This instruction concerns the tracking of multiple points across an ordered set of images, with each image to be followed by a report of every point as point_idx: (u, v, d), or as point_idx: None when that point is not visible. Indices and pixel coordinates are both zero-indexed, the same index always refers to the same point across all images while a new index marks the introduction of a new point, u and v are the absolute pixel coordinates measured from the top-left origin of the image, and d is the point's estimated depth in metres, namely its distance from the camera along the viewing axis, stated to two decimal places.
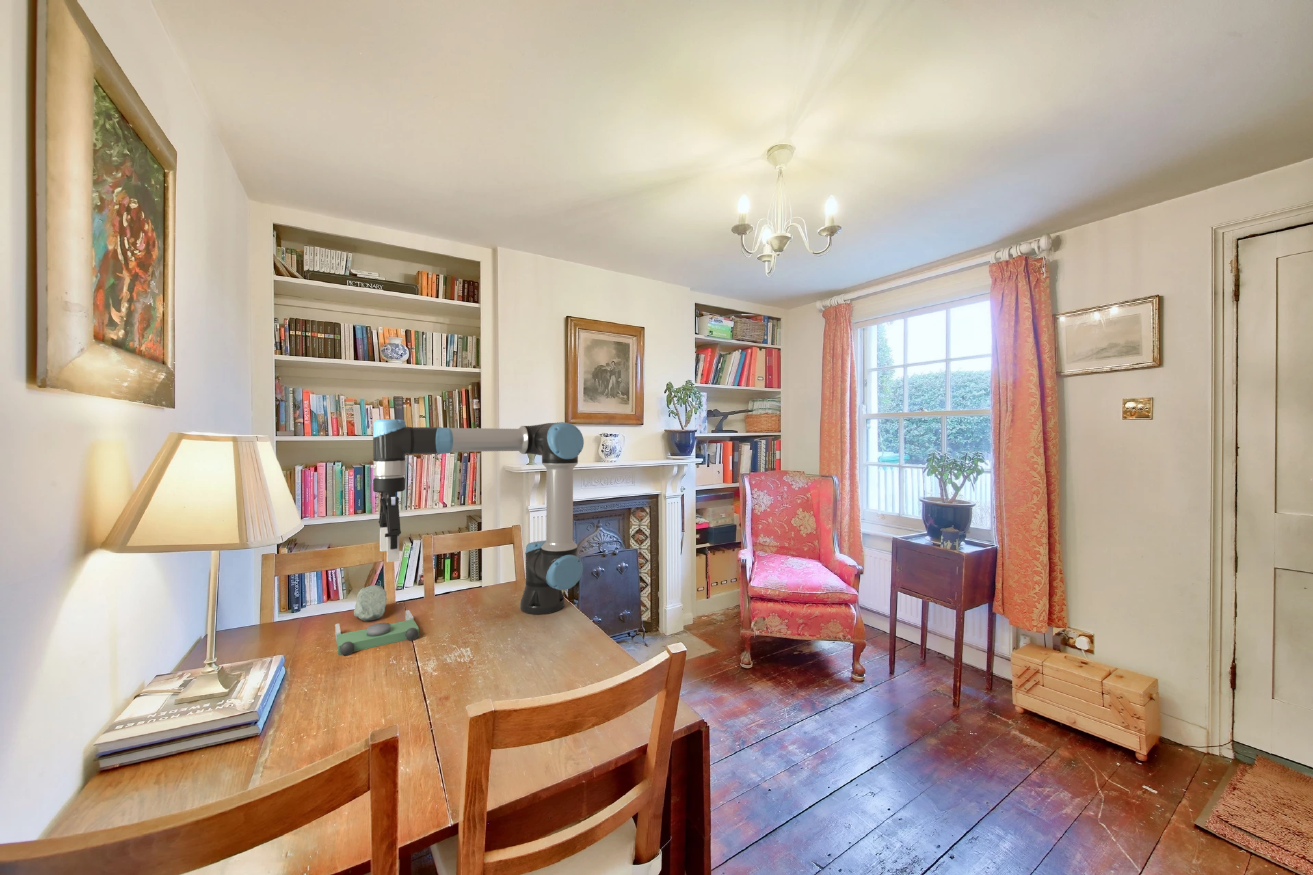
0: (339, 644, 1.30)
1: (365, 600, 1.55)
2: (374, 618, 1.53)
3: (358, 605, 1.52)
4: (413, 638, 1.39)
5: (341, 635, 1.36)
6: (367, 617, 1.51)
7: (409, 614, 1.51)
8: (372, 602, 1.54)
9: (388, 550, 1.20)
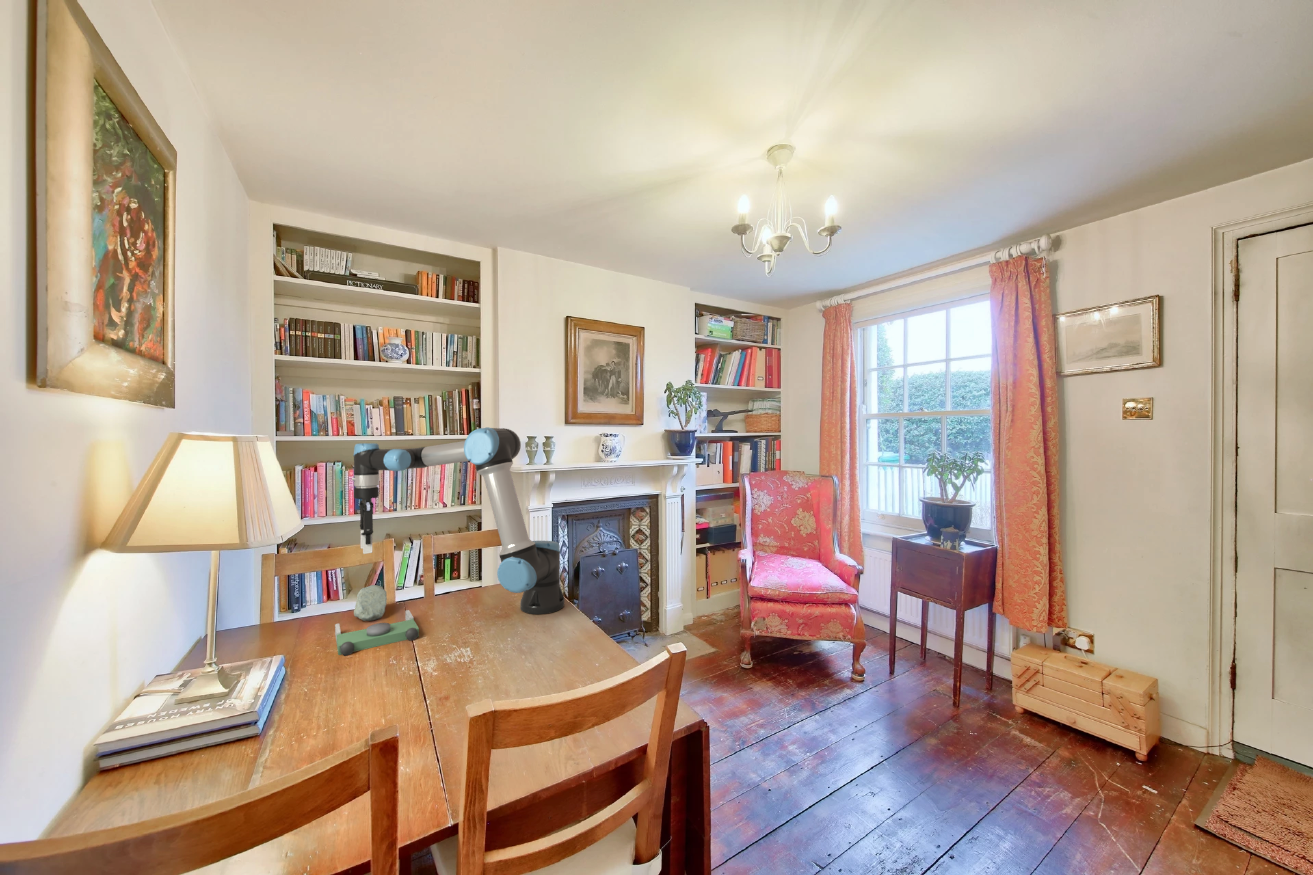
0: (339, 644, 1.30)
1: (365, 600, 1.55)
2: (374, 618, 1.53)
3: (358, 605, 1.52)
4: (413, 638, 1.39)
5: (341, 635, 1.36)
6: (367, 617, 1.51)
7: (409, 614, 1.51)
8: (372, 602, 1.54)
9: (364, 545, 1.63)
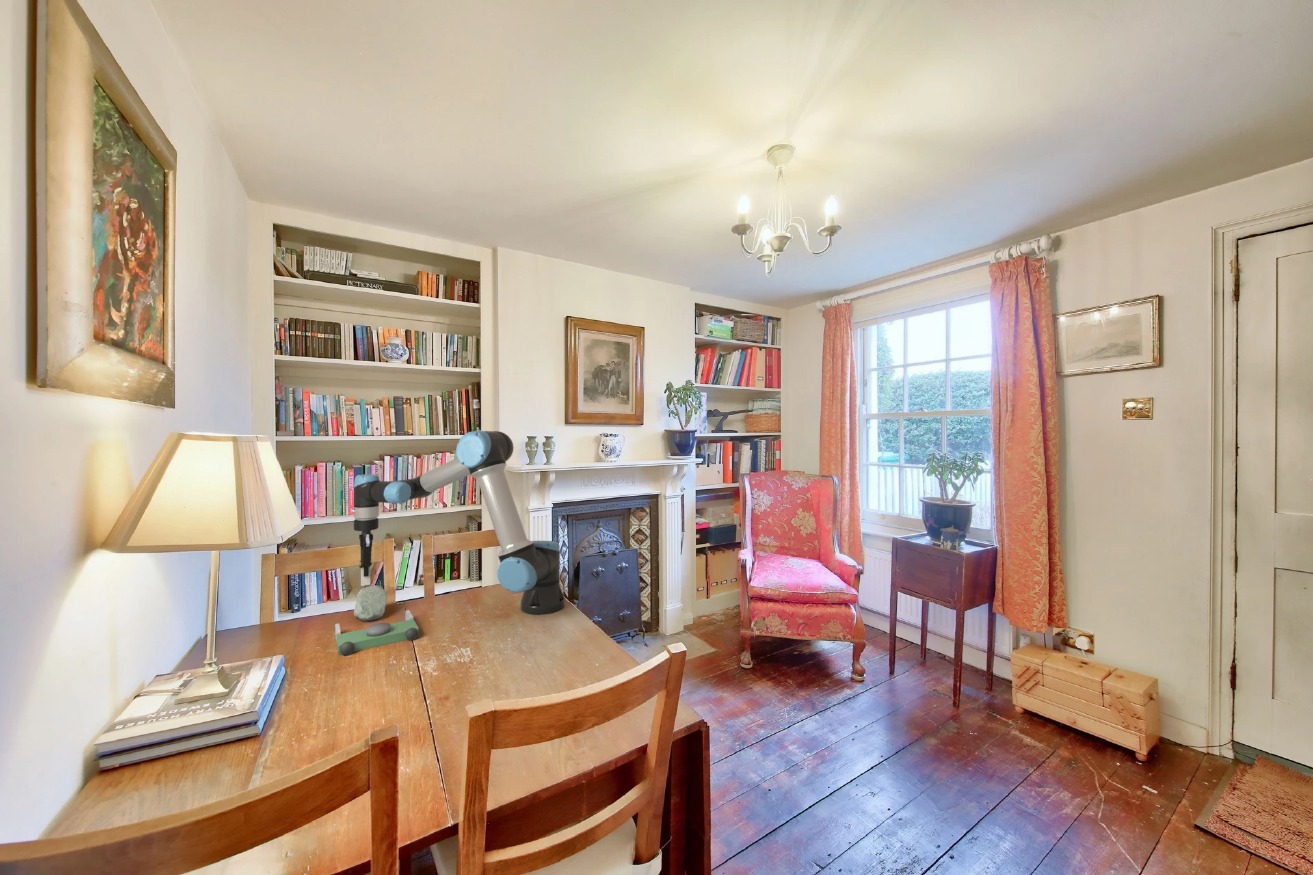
0: (339, 644, 1.30)
1: (365, 600, 1.55)
2: (374, 618, 1.53)
3: (358, 605, 1.52)
4: (413, 638, 1.39)
5: (341, 635, 1.36)
6: (367, 617, 1.51)
7: (409, 614, 1.51)
8: (372, 602, 1.54)
9: (362, 577, 1.66)
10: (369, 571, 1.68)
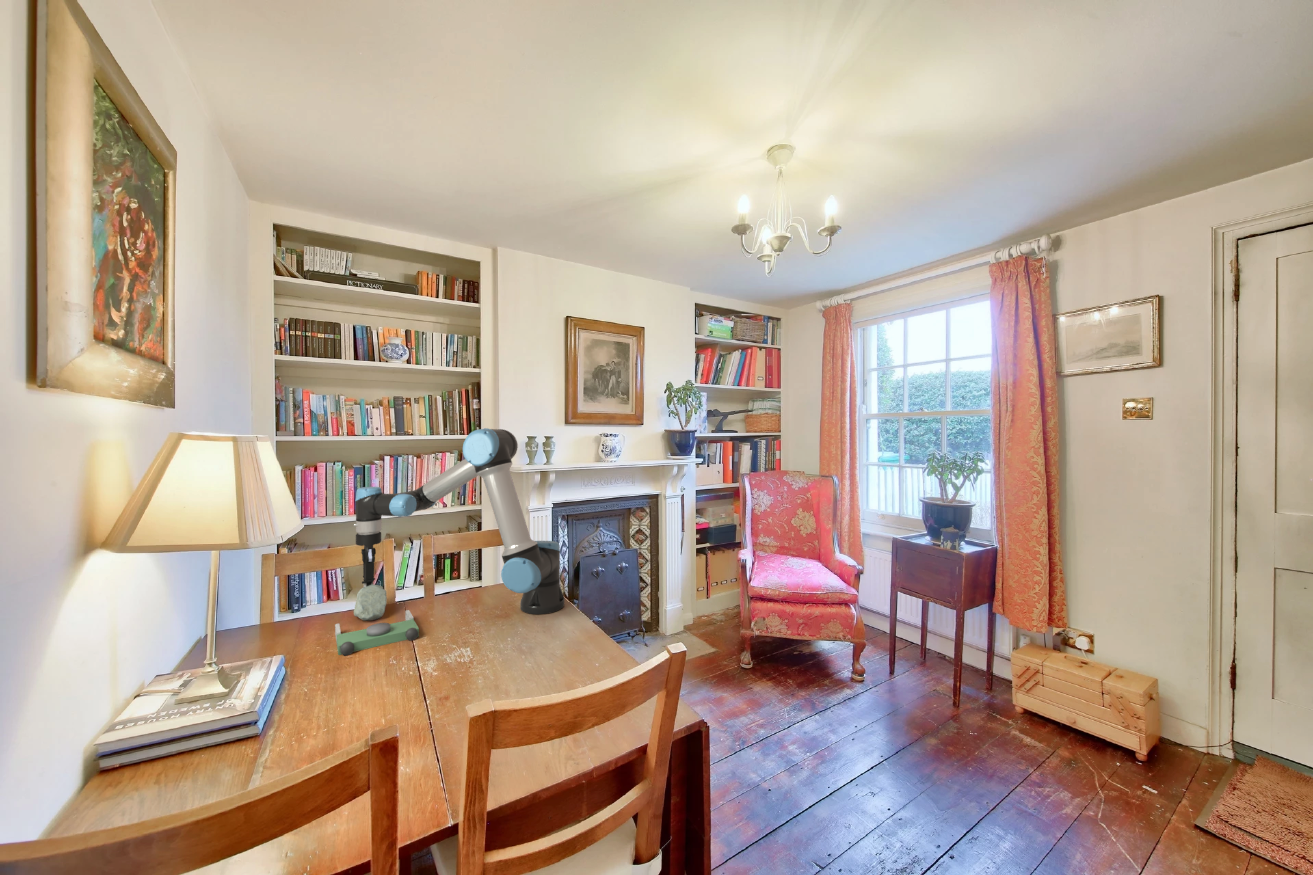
0: (339, 644, 1.30)
1: (365, 599, 1.54)
2: (374, 618, 1.53)
3: (358, 605, 1.52)
4: (413, 638, 1.39)
5: (341, 635, 1.36)
6: (367, 616, 1.50)
7: (409, 614, 1.51)
8: (372, 602, 1.54)
9: None
10: None
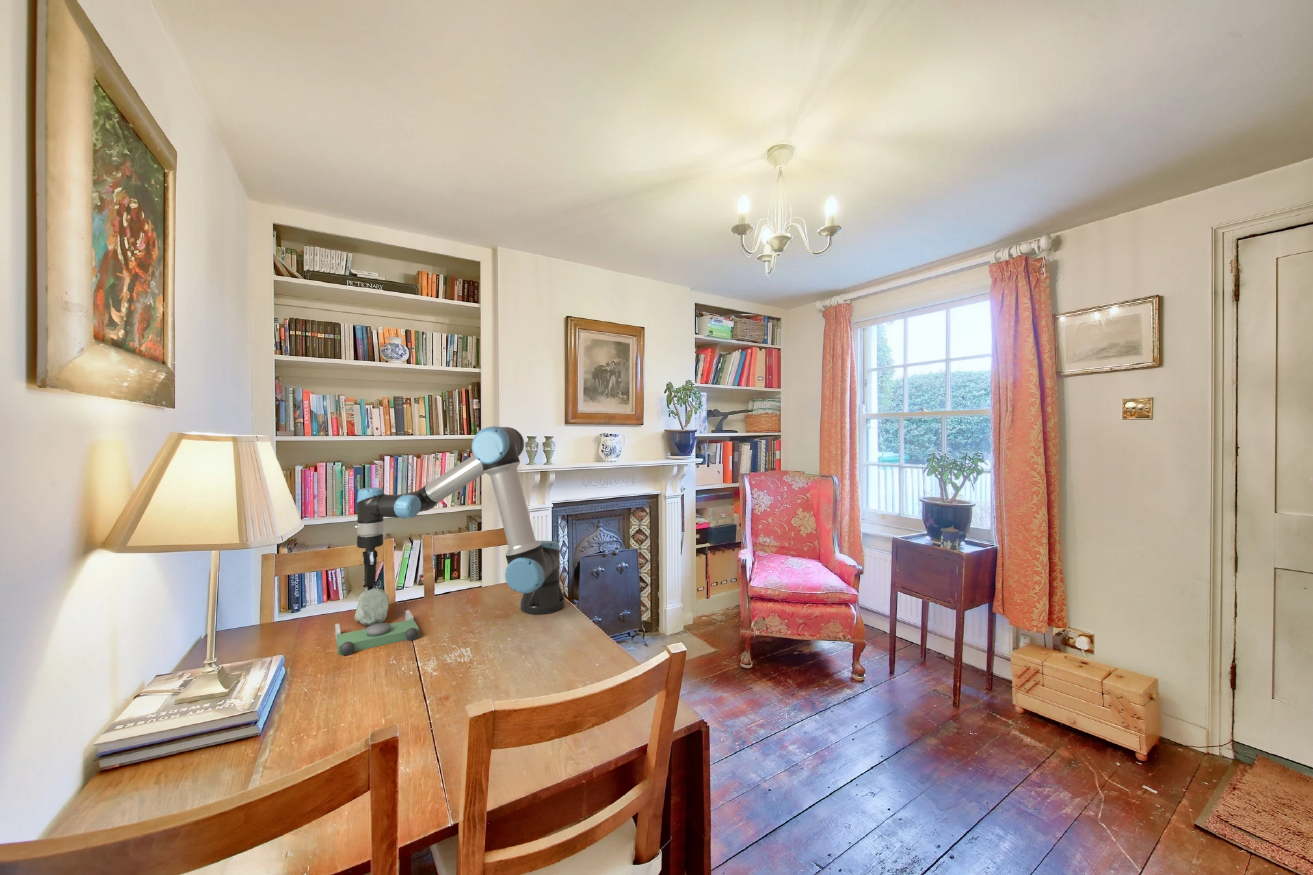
0: (339, 644, 1.30)
1: (366, 604, 1.50)
2: (376, 623, 1.49)
3: (359, 609, 1.48)
4: (413, 638, 1.39)
5: (341, 635, 1.36)
6: (369, 622, 1.46)
7: (409, 614, 1.51)
8: (373, 606, 1.50)
9: None
10: None
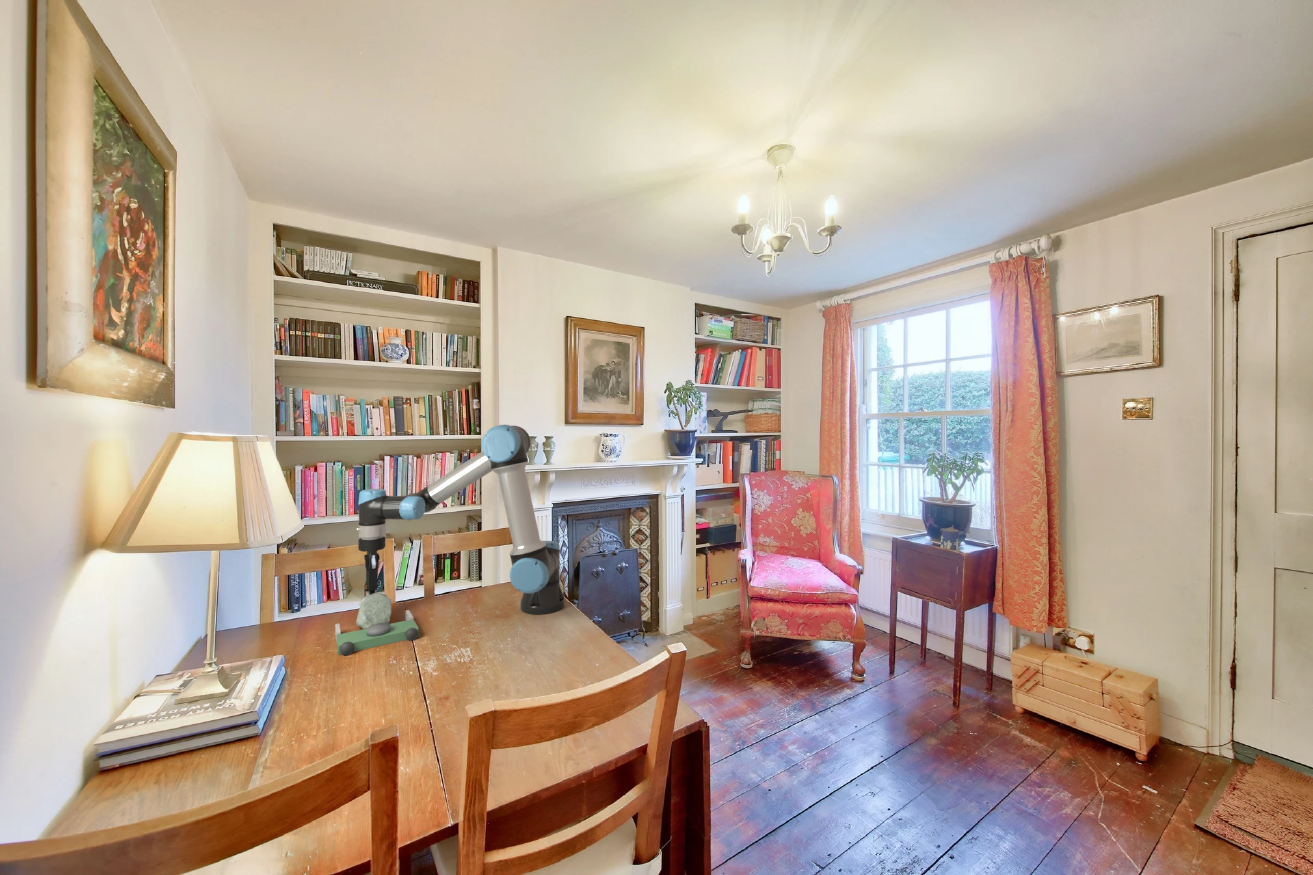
0: (339, 644, 1.30)
1: (368, 609, 1.46)
2: None
3: (361, 615, 1.44)
4: (413, 638, 1.39)
5: (341, 635, 1.36)
6: None
7: (409, 614, 1.51)
8: (376, 611, 1.46)
9: None
10: None
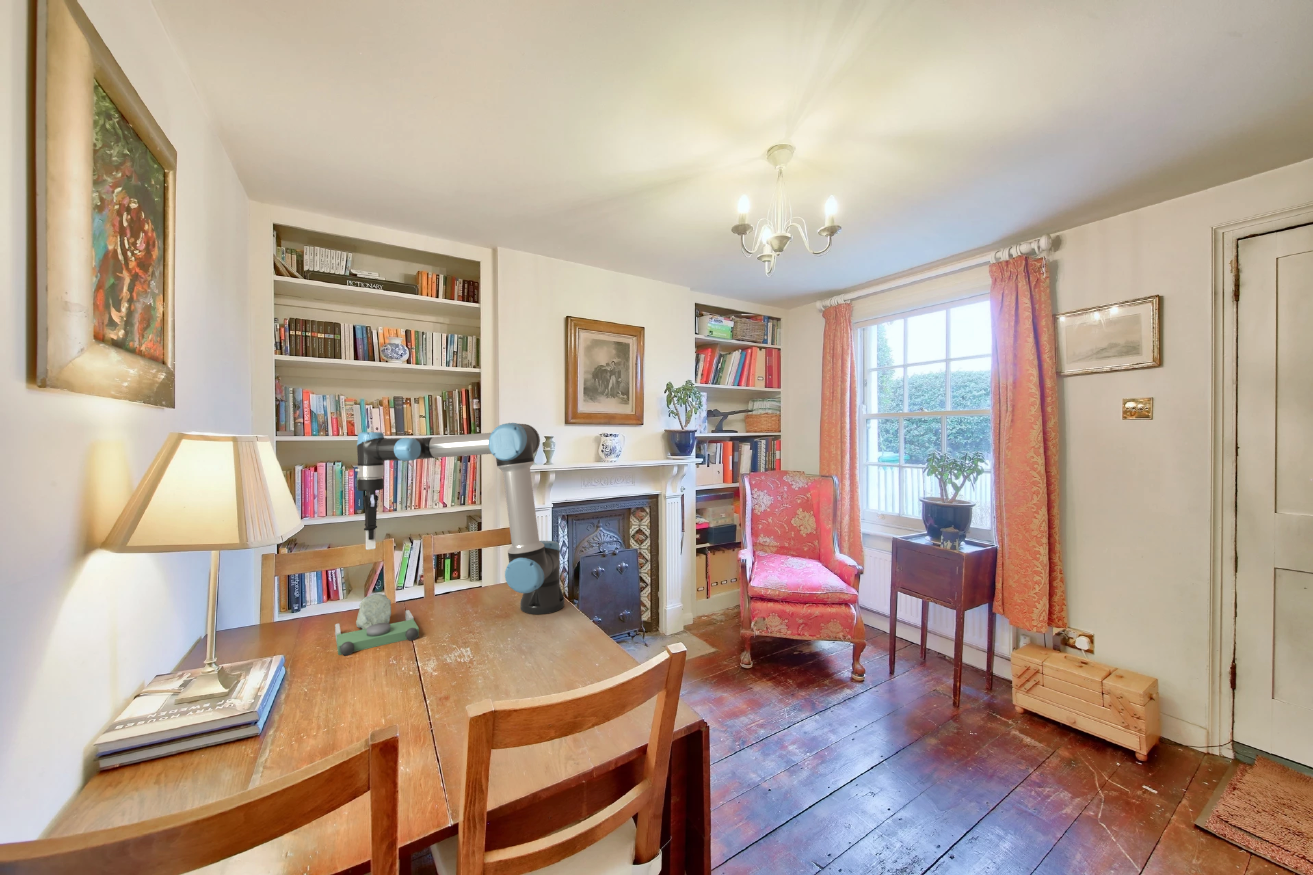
0: (339, 644, 1.30)
1: (368, 610, 1.46)
2: None
3: (361, 615, 1.44)
4: (413, 638, 1.39)
5: (341, 635, 1.36)
6: None
7: (409, 614, 1.51)
8: (376, 612, 1.46)
9: (367, 540, 1.56)
10: (374, 534, 1.58)
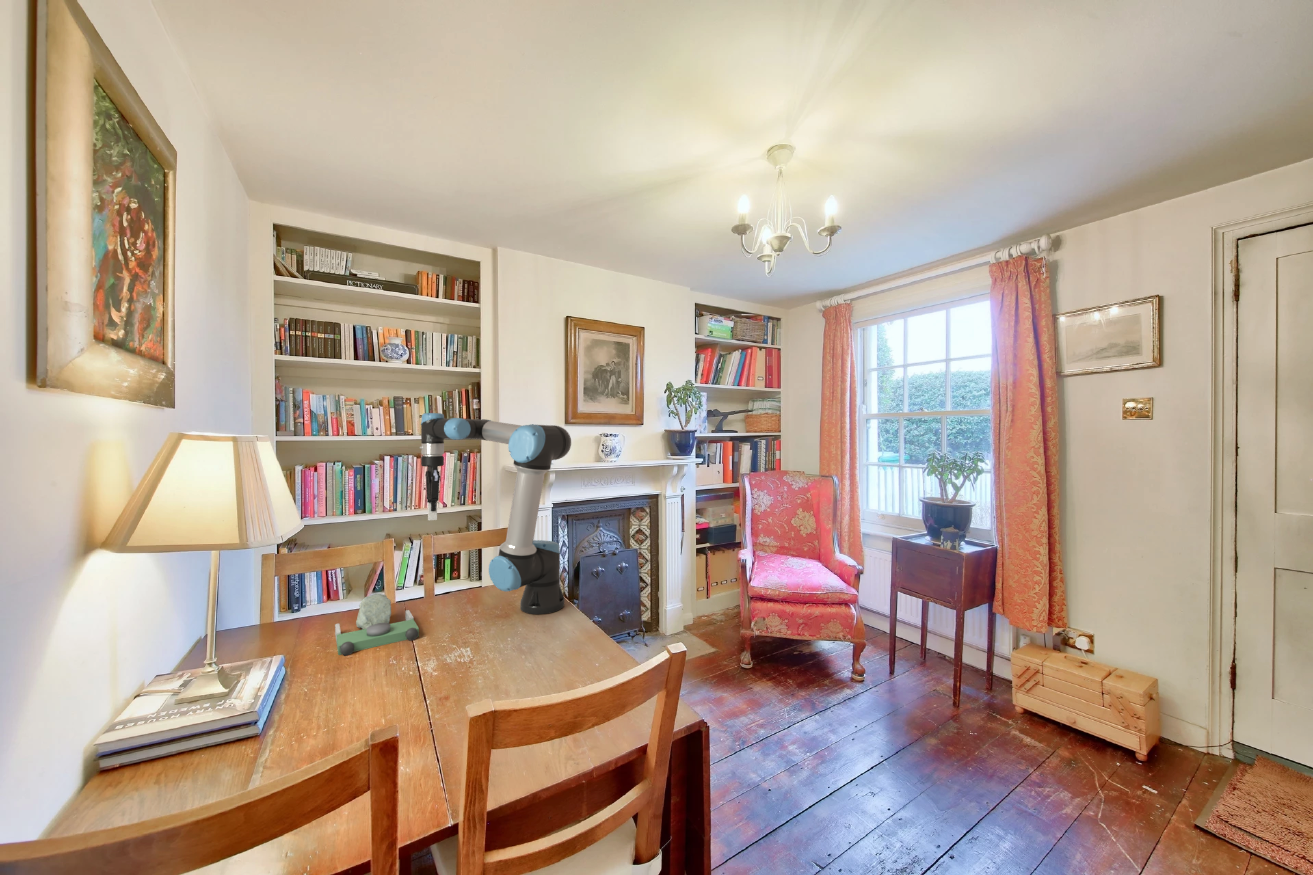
0: (339, 644, 1.30)
1: (368, 610, 1.46)
2: None
3: (361, 615, 1.44)
4: (413, 638, 1.39)
5: (341, 635, 1.36)
6: None
7: (409, 614, 1.51)
8: (376, 612, 1.46)
9: (429, 512, 1.72)
10: (436, 506, 1.73)
